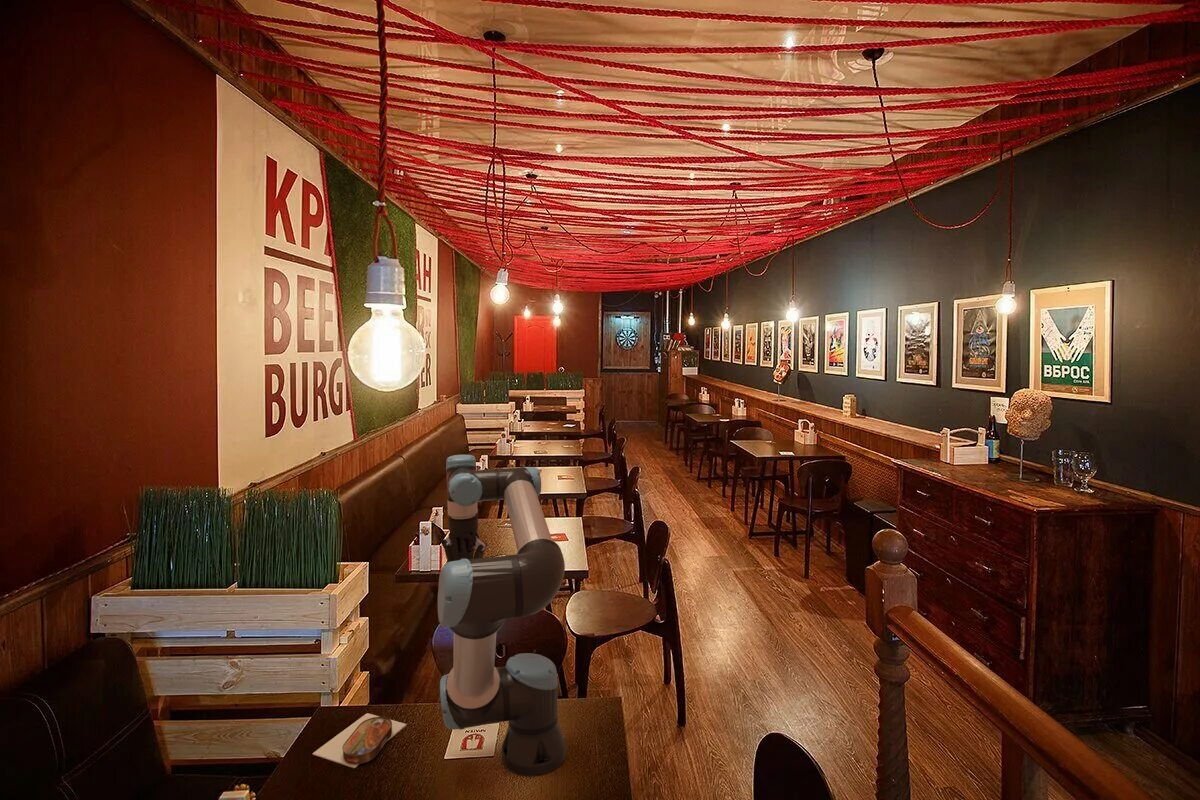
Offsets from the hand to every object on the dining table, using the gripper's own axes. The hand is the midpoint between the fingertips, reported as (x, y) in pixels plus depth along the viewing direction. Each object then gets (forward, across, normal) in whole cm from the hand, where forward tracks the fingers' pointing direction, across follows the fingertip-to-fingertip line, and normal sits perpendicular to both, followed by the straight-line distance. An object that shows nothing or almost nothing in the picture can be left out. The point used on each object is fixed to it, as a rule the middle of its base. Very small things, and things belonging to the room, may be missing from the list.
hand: (465, 603), depth 171 cm
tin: (+28, +10, +21) cm, 36 cm away
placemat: (+29, +18, +21) cm, 40 cm away
